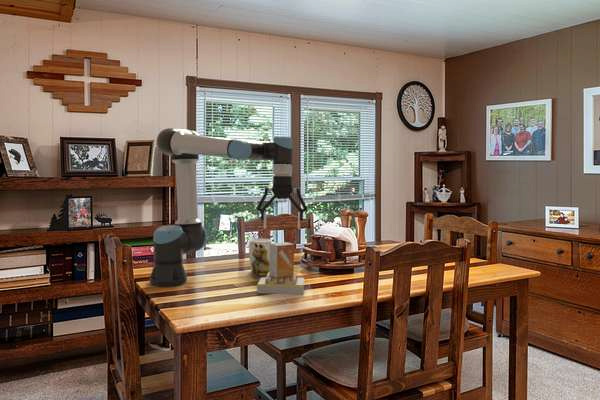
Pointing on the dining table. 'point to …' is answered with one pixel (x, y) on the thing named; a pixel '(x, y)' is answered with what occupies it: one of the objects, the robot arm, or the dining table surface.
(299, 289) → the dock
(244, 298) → the dining table surface
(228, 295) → the dining table surface
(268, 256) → the jar
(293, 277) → the pallet
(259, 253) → the decorative figurine
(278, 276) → the small box
